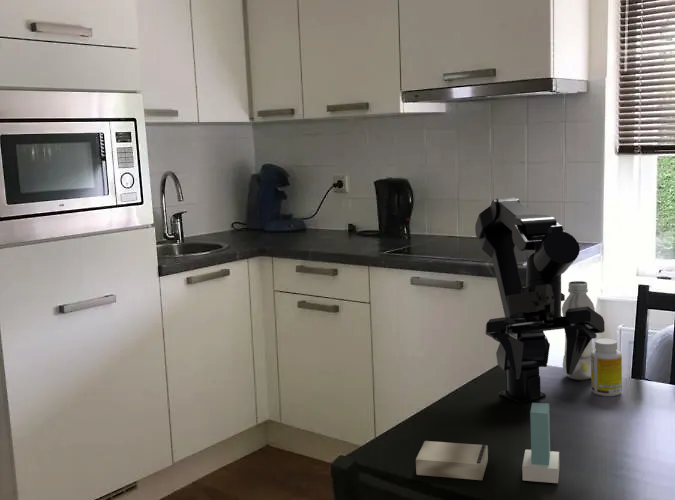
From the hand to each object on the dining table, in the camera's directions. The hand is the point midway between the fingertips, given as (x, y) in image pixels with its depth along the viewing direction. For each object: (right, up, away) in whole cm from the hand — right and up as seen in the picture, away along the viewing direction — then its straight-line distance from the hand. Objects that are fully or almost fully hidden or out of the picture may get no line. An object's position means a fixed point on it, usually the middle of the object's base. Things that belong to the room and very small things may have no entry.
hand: (542, 376), depth 120 cm
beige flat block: (-15, -14, -4) cm, 21 cm away
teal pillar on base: (-2, -13, -8) cm, 16 cm away
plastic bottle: (+17, -6, +33) cm, 38 cm away
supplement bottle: (+19, -7, +24) cm, 32 cm away
